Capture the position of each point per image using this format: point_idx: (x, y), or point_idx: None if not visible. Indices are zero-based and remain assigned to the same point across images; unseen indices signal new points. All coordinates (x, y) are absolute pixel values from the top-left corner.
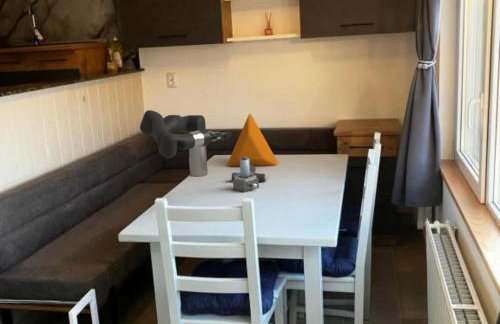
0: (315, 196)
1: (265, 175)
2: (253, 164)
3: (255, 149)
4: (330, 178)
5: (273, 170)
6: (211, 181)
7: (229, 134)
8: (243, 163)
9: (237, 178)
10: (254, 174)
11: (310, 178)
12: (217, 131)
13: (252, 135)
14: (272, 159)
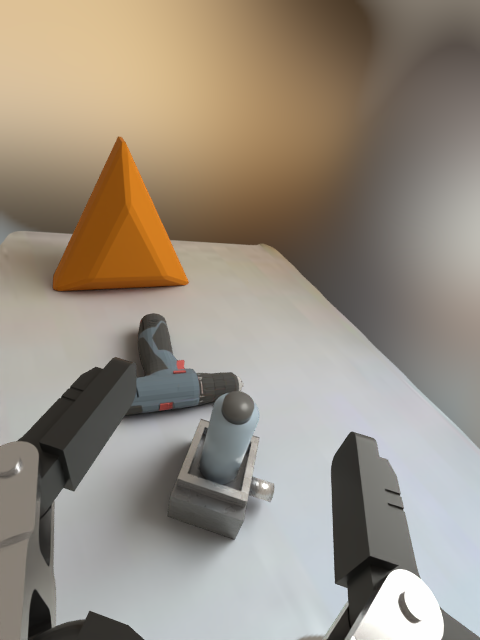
0: (472, 502)
1: (239, 381)
2: (134, 285)
3: (146, 253)
4: (357, 348)
5: (199, 311)
6: (26, 423)
7: (394, 506)
8: (240, 441)
9: (194, 487)
10: (207, 386)
11: (320, 353)
12: (123, 382)
13: (138, 213)
14: (181, 273)
